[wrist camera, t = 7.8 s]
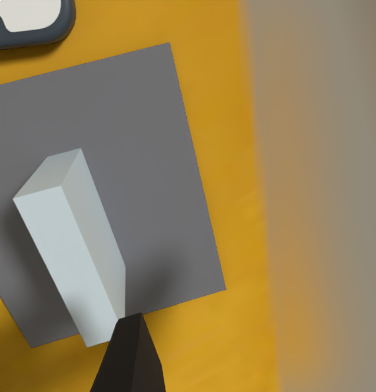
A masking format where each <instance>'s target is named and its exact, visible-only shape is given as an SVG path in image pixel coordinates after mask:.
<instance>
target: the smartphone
mask: <svg viewBox="0 0 376 392" xmlns="http://www.w3.org/2000/svg"><path fill="white" fill-rule="evenodd" d="M75 20H76V7H75V1H74V0H0V50H4V49H12V48H20V47H28V46H36V45H44V44H52V43H56V42H59V41H61V40H63V39H64V38H65V37H66V36H68V34H69V33H70V32H71V31H72V28H73V26H74V24H75Z"/></svg>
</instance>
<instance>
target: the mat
mask: <svg viewBox="0 0 376 392" xmlns="http://www.w3.org/2000/svg"><path fill="white" fill-rule="evenodd" d="M79 148H81V150H82V153H83V155H84V158H85V161H86V163H87V166H88V169H89V171H90V174H91V177H92V179H93V182H94V184H95V187H96V190H97V192H98V195H99V198H100V200H101V203H102V206H103V208H104V211H105V214H106V216H107V219H108V222H109V224H110V227H111V230H112V232H113V235H114V238H115V240H116V243H117V246H118V248H119V251H120V254H121V256H122V259H123V261H124V264H125V267H126V273H125V317H127V316H130V315H133V314H137V313H140V312H141V313H142V315H143V314H146V313H149V312H153V311H156V310H159V309H163V308H166V307H169V306H173V305H176V304H179V303H183V302H186V301H189V300H193V299H196V298H199V297H203V296H206V295H209V294H213V293H216V292H219V291H223V290H226V287H225V282H224V278H223V274H222V269H221V265H220V260H219V256H218V252H217V247H216V243H215V239H214V234H213V230H212V226H211V221H210V217H209V212H208V208H207V204H206V199H205V195H204V191H203V186H202V182H201V177H200V173H199V169H198V164H197V160H196V156H195V151H194V147H193V142H192V138H191V134H190V129H189V125H188V121H187V116H186V112H185V108H184V103H183V99H182V94H181V90H180V86H179V81H178V77H177V73H176V68H175V64H174V59H173V55H172V51H171V46H170V42H169V43H165V44H161V45H157V46H153V47H149V48H145V49H141V50H137V51H133V52H129V53H125V54H121V55H117V56H113V57H109V58H105V59H101V60H97V61H93V62H89V63H85V64H81V65H77V66H73V67H69V68H65V69H61V70H57V71H53V72H49V73H45V74H41V75H37V76H33V77H29V78H25V79H21V80H17V81H13V82H9V83H6V84H2V85H0V297H1V299H2V300H3V302H4V304H5V305H6V307H7V309H8V310H9V312H10V314H11V315H12V317H13V319H14V320H15V322H16V324H17V325H18V327H19V329H20V330H21V332H22V334H23V335H24V337H25V339H26V340H27V342H28V344H29V345H30V347H31V348H33V347H37V346H40V345H43V344H46V343H50V342H53V341H56V340H60V339H63V338H66V337H70V336H73V335H76V334H80V332H79V330H78V328H77V326H76V324H75V322H74V320H73V318H72V316H71V314H70V312H69V310H68V308H67V306H66V304H65V302H64V300H63V298H62V296H61V294H60V292H59V290H58V288H57V286H56V284H55V282H54V280H53V278H52V276H51V274H50V272H49V270H48V268H47V266H46V264H45V262H44V260H43V258H42V256H41V254H40V252H39V250H38V248H37V246H36V244H35V242H34V240H33V238H32V236H31V234H30V232H29V230H28V228H27V226H26V224H25V222H24V220H23V218H22V216H21V214H20V212H19V210H18V208H17V206H16V204H15V202H14V200H13V198H14V197H15V195H16V194H17V193H18V192H19V190H20V189H21V188H22V187H23V186H24V184H25V183H26V182H27V181H28V180H29V178H30V177H31V176H32V175H33V173H34V172H35V171H36V170H37V169H38V167H39V166H40V165H41V164H42V163H43V161H44V160H45V159H46V158H47V157H49V156H53V155H56V154H60V153H64V152H68V151H72V150H75V149H79Z"/></svg>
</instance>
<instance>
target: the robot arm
mask: <svg viewBox="0 0 376 392" xmlns="http://www.w3.org/2000/svg"><path fill="white" fill-rule="evenodd" d="M90 392H166V390H165V384H164V377H163V371H162V365H161V362H160V360H159V357H158V354H157V352H156V349H155V347H154V344H153V341H152V339H151V336H150V334H149V331H148V328H147V326H146V323H145V320H144V318H143V315H142V313H141V312H140V313H137V314H133V315H130V316H127V317H123V318H120V319H118V321H117V323H116V325H115V328H114V331H113V333H112V336H111V339H110V342H109V345H108V347H107V350H106V353H105V355H104V358H103V361H102V363H101V366H100V368H99V371H98V373H97V376H96V378H95V380H94V383H93V385H92V388H91V390H90Z"/></svg>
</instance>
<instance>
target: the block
mask: <svg viewBox="0 0 376 392" xmlns="http://www.w3.org/2000/svg"><path fill="white" fill-rule="evenodd" d="M13 200H14V202H15V204H16V206H17V208H18V210H19V212H20V214H21V216H22V218H23V220H24V222H25V224H26V226H27V228H28V230H29V232H30V234H31V236H32V238H33V240H34V242H35V244H36V246H37V248H38V250H39V252H40V254H41V256H42V258H43V260H44V262H45V264H46V266H47V268H48V270H49V272H50V274H51V276H52V278H53V280H54V282H55V284H56V286H57V288H58V290H59V292H60V294H61V296H62V298H63V300H64V302H65V304H66V306H67V308H68V310H69V312H70V314H71V316H72V318H73V320H74V322H75V324H76V326H77V328H78V330H79V332H80V334H81V336H82V338H83V340H84V342H85V344H86V346H87V347H90V346H94V345H97V344H100V343H104V342H107V341H110V339H111V336H112V333H113V331H114V328H115V325H116V323H117V321H118V319H120V318H123V317H125V273H126V267H125V264H124V261H123V259H122V256H121V254H120V251H119V248H118V246H117V243H116V240H115V238H114V235H113V232H112V230H111V227H110V224H109V222H108V219H107V216H106V214H105V211H104V208H103V206H102V203H101V200H100V198H99V195H98V192H97V190H96V187H95V184H94V182H93V179H92V177H91V174H90V171H89V169H88V166H87V163H86V161H85V158H84V155H83V153H82V150H81V148H79V149H75V150H72V151H68V152H64V153H60V154H56V155H53V156H49V157H47V158H46V159H45V160H44V161H43V163H42V164H41V165H40V166H39V167H38V169H37V170H36V171H35V172H34V173H33V175H32V176H31V177H30V178H29V180H28V181H27V182H26V183H25V184H24V186H23V187H22V188H21V189H20V190H19V192H18V193H17V194H16V195H15V197H14V198H13Z"/></svg>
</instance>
